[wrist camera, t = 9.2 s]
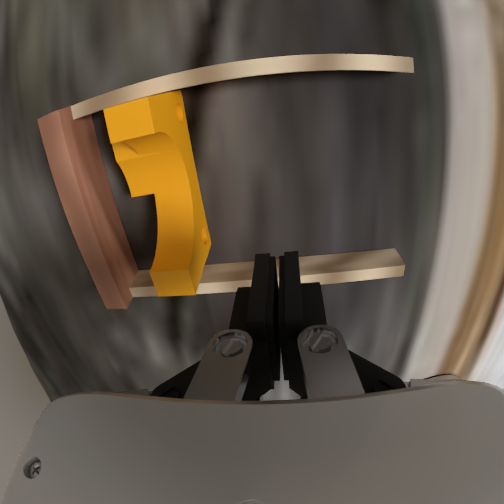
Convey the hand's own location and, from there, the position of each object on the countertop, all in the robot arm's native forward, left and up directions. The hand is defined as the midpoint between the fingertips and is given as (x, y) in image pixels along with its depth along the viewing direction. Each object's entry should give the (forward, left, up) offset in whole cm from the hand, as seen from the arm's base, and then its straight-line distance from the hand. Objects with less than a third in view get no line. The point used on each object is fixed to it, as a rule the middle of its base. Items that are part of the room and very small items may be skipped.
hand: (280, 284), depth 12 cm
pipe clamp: (+8, -2, -12) cm, 14 cm away
